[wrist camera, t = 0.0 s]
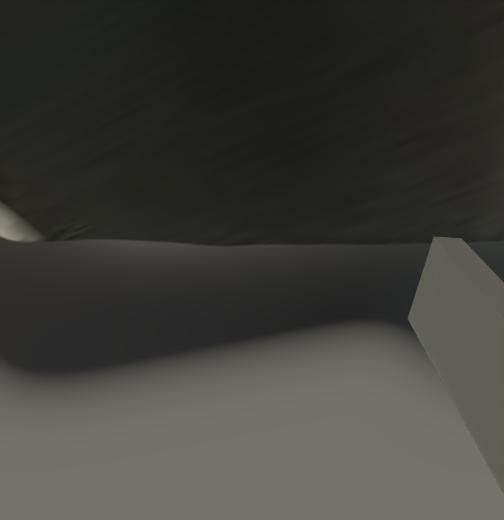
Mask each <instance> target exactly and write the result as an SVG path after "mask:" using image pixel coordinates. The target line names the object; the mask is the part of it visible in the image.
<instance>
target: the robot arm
mask: <svg viewBox="0 0 504 520" xmlns="http://www.w3.org/2000/svg"><path fill="white" fill-rule="evenodd" d="M408 320H409V322H410V324H411V325H412V327H413V329H414V331H415V333H416V335H417V336H418V338H419V340H420V342H421V344H422V345H423V347H424V349H425V351H426V352H427V355H428V356H429V358H430V360H431V362H432V364H433V365H434V367H435V369H436V371H437V373H438V375H439V376H440V378H441V380H442V382H443V384H444V386H445V388H446V389H447V391H448V393H449V395H450V397H451V398H452V400H453V402H454V404H455V406H456V407H457V409H458V411H459V413H460V415H461V417H462V419H463V420H464V422H465V424H466V426H467V428H468V430H469V431H470V433H471V435H472V437H473V439H474V440H475V442H476V444H477V446H478V448H479V450H480V452H481V453H482V455H483V457H484V459H485V461H486V462H487V464H488V466H489V468H490V470H491V472H492V473H493V475H494V477H495V479H496V480H497V483H498V484H499V486H500V488H501V490H502V492H503V493H504V283H503V282H502V280H501V279H500V278H499V277H498V276H497V275H496V274H495V273H494V272H493V271H492V270H491V269H490V268H489V267H488V266H487V265H486V264H485V263H484V262H483V261H482V260H481V259H480V258H479V256H478V255H477V254H476V253H475V252H474V251H473V250H472V249H471V248H470V247H469V246H468V245H467V244H466V243H465V242H464V241H463V240H462V239H461V238H446V237H434V238H433V241H432V244H431V247H430V251H429V254H428V257H427V260H426V264H425V267H424V269H423V273H422V276H421V279H420V282H419V285H418V288H417V291H416V295H415V298H414V301H413V304H412V307H411V310H410V313H409V317H408Z"/></svg>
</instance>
